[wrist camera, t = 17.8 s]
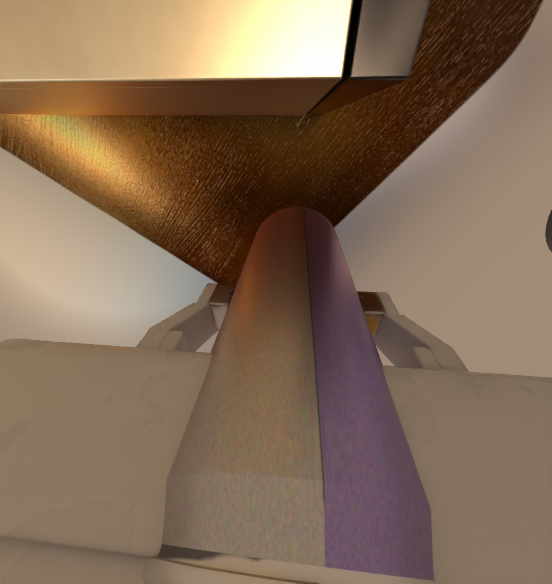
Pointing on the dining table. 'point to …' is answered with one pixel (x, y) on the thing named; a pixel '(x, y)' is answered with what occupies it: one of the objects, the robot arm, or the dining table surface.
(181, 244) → the dining table surface
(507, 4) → the dining table surface
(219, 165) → the dining table surface
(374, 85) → the oven door
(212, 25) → the oven
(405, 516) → the beverage can
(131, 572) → the robot arm
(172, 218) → the dining table surface
